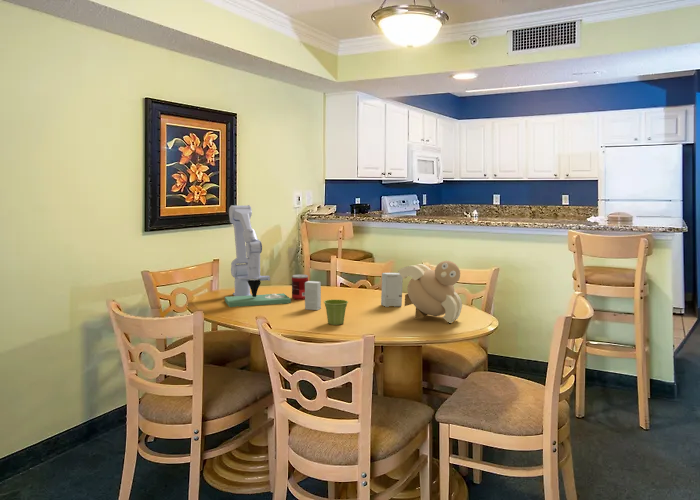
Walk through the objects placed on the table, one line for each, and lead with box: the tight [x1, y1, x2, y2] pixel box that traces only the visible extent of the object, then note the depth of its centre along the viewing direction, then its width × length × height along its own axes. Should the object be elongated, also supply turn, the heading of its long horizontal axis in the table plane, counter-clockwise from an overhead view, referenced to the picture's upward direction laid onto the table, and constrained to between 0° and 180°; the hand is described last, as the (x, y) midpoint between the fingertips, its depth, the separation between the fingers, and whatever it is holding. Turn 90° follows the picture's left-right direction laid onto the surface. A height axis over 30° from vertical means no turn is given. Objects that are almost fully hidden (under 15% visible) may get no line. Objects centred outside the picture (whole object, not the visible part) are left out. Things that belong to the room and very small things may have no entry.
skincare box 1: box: [304, 280, 322, 311], centre depth 241 cm, size 6×4×12 cm
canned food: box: [291, 273, 309, 301], centre depth 265 cm, size 8×8×11 cm
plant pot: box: [323, 299, 349, 326], centre depth 216 cm, size 9×9×9 cm
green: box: [224, 292, 292, 308], centre depth 255 cm, size 14×28×2 cm, turn 110°
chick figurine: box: [397, 260, 463, 324], centre depth 224 cm, size 30×28×23 cm
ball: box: [270, 293, 278, 298], centre depth 258 cm, size 4×4×4 cm
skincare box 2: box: [380, 272, 404, 308], centre depth 250 cm, size 8×6×15 cm
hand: (254, 296), depth 255 cm, fingers closed
